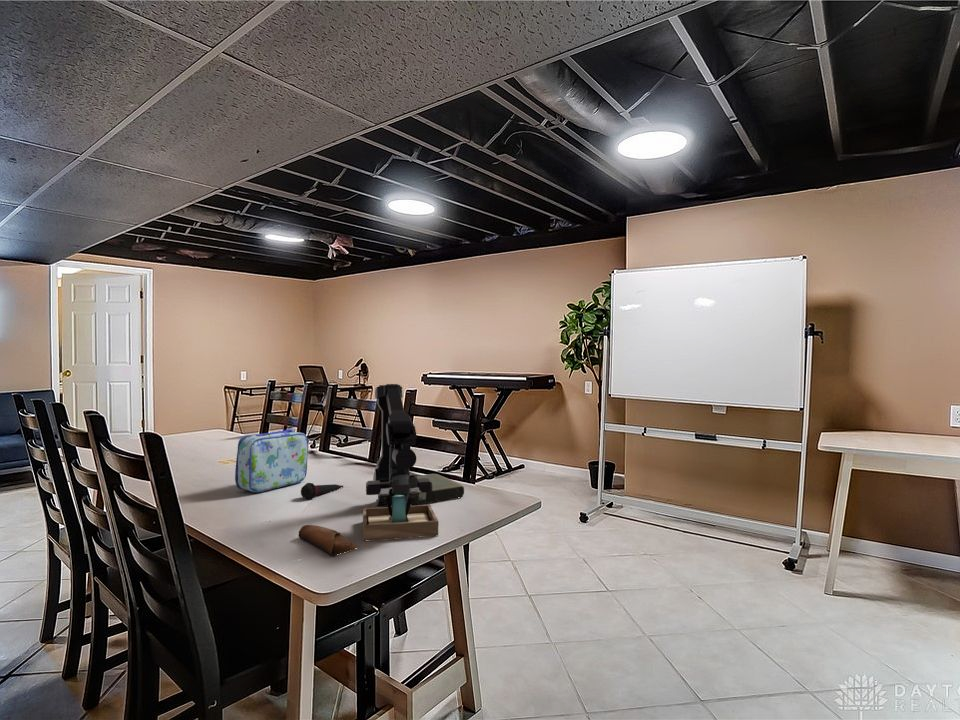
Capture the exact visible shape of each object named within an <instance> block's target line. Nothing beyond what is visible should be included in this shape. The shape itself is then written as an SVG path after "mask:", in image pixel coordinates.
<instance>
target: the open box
mask: <svg viewBox="0 0 960 720" xmlns="http://www.w3.org/2000/svg"><path fill="white" fill-rule="evenodd" d="M367 522H368V523H367ZM439 523H440V522H439V519H438V517H437V515H436V514H435V512H434V509H433V507H432V506H431V504H421V505H415V506H412V505H411V506H410V509H409V512H408V514H407V516H406V522H399V523H392V517H390V513H389V510H388V506H386V507H385V506H380V507H368V508H367V507H365V508H362V529H363V530H362V531H363V533H362V534H363V542H367V541H366V540H375V541H382V540H381V539H388V540H396V539H395V538H402V539H410V538H409V537H415V538H420V537H419V536H429V537H437V536H436V535H438V536H439Z"/></svg>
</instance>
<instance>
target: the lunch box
mask: <svg viewBox="0 0 960 720" xmlns="http://www.w3.org/2000/svg"><path fill="white" fill-rule="evenodd" d="M236 451H237V453H236V462H235V473H234V474H235V475H234V482H235V485H236V487H237V488H238V489H240V490H246V491H248V492H249V491H250V492H252V493H262V492H266V491H269V490H270V491H271V490H274V489H279V488H282V487H286V486H291V485H294V484H295V485H296V484H299V483H301V482H303V481H304V480H305V478H306V476H307V471H308V455H309V453H308V452H309V442H308V437H307V435H306V434H305V433H304V432H299V431H298V432H297V431H295V430H294V431H293V429H292V428H291V429H285V430H278V431H272V432H265V433H263V432H262V433H254V434H248V435H244V436H241V437H240V439H239V440H238V443H237V450H236Z"/></svg>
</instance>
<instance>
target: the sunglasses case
mask: <svg viewBox="0 0 960 720" xmlns="http://www.w3.org/2000/svg"><path fill="white" fill-rule="evenodd" d="M298 538H300V539H302V540H304V541H307V542H309V543H311V544H313V545H315V546H316V547H318V548H320V549H322V551H325V552H327V553H328V554H330V555H331V556H333V555H337V554H340V553H344V552H347V551H350V550H353V549H355V548H357V547H358V546H357V544H355V543H354V542H352V541H351V540H349V538H346V537H345V536H343V535H341V532H339V531H337V530H334V529H331V528H328V527H325V526H322V525H321V526H320V525H314V524H305V525H303V526H302V527H300V529H299V531H298ZM353 551H354V550H353ZM350 552H351V551H350ZM347 553H348V552H347ZM344 554H345V553H344Z"/></svg>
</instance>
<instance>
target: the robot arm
mask: <svg viewBox="0 0 960 720" xmlns="http://www.w3.org/2000/svg"><path fill="white" fill-rule="evenodd" d="M374 398H375V400H376V404H377V406H378V408H379V409H380V411H381V431H380V432H381V444H380V445H381V448H380V452H381V453H380V456H379V458H378V460H377V461H376V468H374V470H373V471H374V472H373V478H372V480H368V481H366V482H365V494H366V496H375V495H377V499H375V500H376V501H375V502H376V506H377V507H385V506H386V507H388V510H389V513H390V517H392V496H395V495H398V494H407V497H406V516H407V514H408V512H409V509H410V506H412V505H411V503H412V501H413V499H414V497H415V496H416V495H419V491H418V490H420V491H421V492H432V482H431V481H430V480H429V479H428V478H421V479H417V476H418V475H417V474H410V469H411V468H413V467H414V466H415V465H416V463H417V456H416V453H415V452H414V450H412V448H411V447H412V446H411V445H416V444H417V442H416V441H417V440H418V436H417V430H416V426H415V425H414V424H415V423H414V422H413V421H412V419H411V416H410V414H408V413H406V412H405V409H404V404H403V400H402V399H403V386H401V384H398V383H386V384H383V385H382V384H380V385H378V386H376V387H375V389H374Z"/></svg>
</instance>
